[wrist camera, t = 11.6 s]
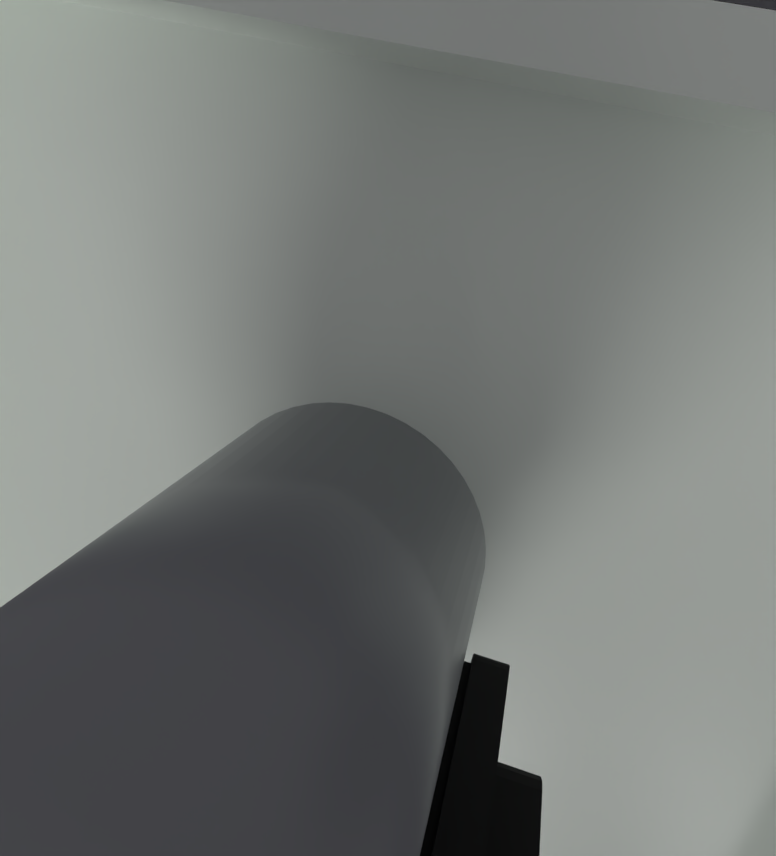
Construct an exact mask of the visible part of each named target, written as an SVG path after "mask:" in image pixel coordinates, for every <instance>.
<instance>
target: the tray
mask: <svg viewBox="0 0 776 856" xmlns="http://www.w3.org/2000/svg"><path fill="white" fill-rule="evenodd" d="M327 402H332V403H346V404H352V405H357V406H362V407H367V408H370V409H373V410H376V411H379V412H382V413H385V414H388V415H390V416H392V417H394V418H396V419H398V420H400V421H402V422H404V423H406V424H408V425H409V426H411V427H412V428H414V429H415V430H417V431H418V432H420V433H422V434H423V435H424V436H425V437H427V438H428V439H429V440H430V441H431V442H433V443H434V444H435V445H436V446H437V447H438V448H439V449H440V450H441V451H442V452H443V453H444V454H445V455H446V456H447V457H448V458H449V459H450V460H451V461H452V463H453V464H454V465H455V467H456V468H457V470H458V471H459V472H460V474H461V475H462V477H463V478H464V480H465V482H466V483H467V485H468V487H469V489H470V491H471V492H472V494H473V497H474V499H475V502H476V504H477V507H478V509H479V512H480V516H481V520H482V524H483V528H484V534H485V545H486V558H485V570H484V574H483V579H482V584H481V589H480V593H479V597H478V602H477V606H476V611H475V615H474V619H473V624H472V628H471V633H470V637H469V641H468V646H467V650H466V655H465V659H464V661H466V662H469V663H471V659H472V656H473V654H474V653H475V654H478V655H481V656H484V657H487V658H490V659H493V660H496V661H499V662H503V663H506V664H509V665H510V669H509V678H508V686H507V694H506V701H505V709H504V717H503V725H502V733H501V741H500V749H499V757H498V762H500V763H503V764H506V765H509V766H512V767H515V768H518V769H521V770H524V771H527V772H529V773H532V774H535V775H538V776H541V779H542V809H541V832H540V854H539V856H776V10H769V9H763V8H757V7H751V6H745V5H738V4H732V3H726V2H720V1H714V0H0V607H2V606H3V605H4V604H6V603H7V602H9V601H10V600H11V599H13V598H14V597H16V596H17V595H18V594H20V593H21V592H23V591H24V590H25V589H27V588H28V587H30V586H31V585H32V584H34V583H35V582H37V581H38V580H39V579H41V578H42V577H44V576H45V575H46V574H48V573H49V572H51V571H52V570H53V569H55V568H56V567H58V566H59V565H60V564H62V563H63V562H65V561H66V560H67V559H69V558H70V557H72V556H73V555H74V554H76V553H77V552H78V551H80V550H81V549H83V548H84V547H85V546H87V545H88V544H90V543H91V542H92V541H94V540H95V539H97V538H98V537H99V536H101V535H102V534H104V533H105V532H106V531H108V530H109V529H111V528H112V527H113V526H115V525H116V524H118V523H119V522H120V521H122V520H123V519H125V518H126V517H127V516H129V515H130V514H132V513H133V512H134V511H136V510H137V509H139V508H140V507H141V506H143V505H144V504H146V503H147V502H148V501H150V500H151V499H153V498H154V497H155V496H157V495H158V494H160V493H161V492H162V491H164V490H165V489H167V488H168V487H169V486H171V485H172V484H174V483H175V482H176V481H178V480H179V479H181V478H182V477H183V476H185V475H186V474H187V473H189V472H190V471H192V470H193V469H194V468H196V467H197V466H199V465H200V464H201V463H203V462H204V461H206V460H207V459H208V458H210V457H211V456H213V455H214V454H215V453H217V452H218V451H220V450H221V449H222V448H224V447H225V446H227V445H228V444H229V443H231V442H232V441H234V440H235V439H236V438H238V437H239V436H241V435H242V434H243V433H245V432H246V431H248V430H249V429H250V428H252V427H253V426H255V425H256V424H257V423H259V422H260V421H262V420H264V419H266V418H268V417H269V416H271V415H273V414H275V413H277V412H280V411H283V410H286V409H289V408H292V407H296V406H301V405H306V404H311V403H327Z"/></svg>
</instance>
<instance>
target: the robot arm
mask: <svg viewBox="0 0 776 856" xmlns="http://www.w3.org/2000/svg"><path fill="white" fill-rule="evenodd" d="M509 669H510V665H509V664H506V663H503V662H499V661H496V660H493V659H490V658H487V657H484V656H481V655H478V654H475V653H474V654H473V656H472V659H471V663H469V662H466V661H464V663H463V668H462V672H461V677H460V681H459V685H458V690H457V694H456V699H455V703H454V707H453V712H452V716H451V721H450V725H449V729H448V734H447V738H446V743H445V747H444V751H443V756H442V760H441V765H440V769H439V773H438V778H437V782H436V787H435V791H434V795H433V800H432V804H431V809H430V813H429V817H428V822H427V826H426V831H425V835H424V839H423V844H422V848H421V853H420V856H539V854H540V832H541V809H542V779H541V776H538V775H535V774H532V773H529V772H527V771H524V770H521V769H518V768H515V767H512V766H509V765H506V764H503V763H500V762H498V757H499V749H500V741H501V733H502V725H503V717H504V709H505V701H506V694H507V686H508V678H509Z"/></svg>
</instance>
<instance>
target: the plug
mask: <svg viewBox="0 0 776 856" xmlns="http://www.w3.org/2000/svg"><path fill="white" fill-rule="evenodd" d="M485 558H486V545H485V534H484V528H483V524H482V520H481V516H480V512H479V509H478V507H477V504H476V502H475V499H474V497H473V494H472V492H471V491H470V489H469V487H468V485H467V483H466V482H465V480H464V478H463V477H462V475H461V474H460V472H459V471H458V470H457V468H456V467H455V465H454V464H453V463H452V461H451V460H450V459H449V458H448V457H447V456H446V455H445V454H444V453H443V452H442V451H441V450H440V449H439V448H438V447H437V446H436V445H435V444H434V443H433V442H431V441H430V440H429V439H428V438H427V437H425V436H424V435H423V434H422V433H420V432H418V431H417V430H415V429H414V428H412V427H411V426H409V425H408V424H406V423H404V422H402V421H400V420H398V419H396V418H394V417H392V416H390V415H388V414H385V413H382V412H379V411H376V410H373V409H370V408H367V407H362V406H357V405H352V404H346V403H332V402H327V403H311V404H306V405H301V406H296V407H292V408H289V409H286V410H283V411H280V412H277V413H275V414H273V415H271V416H269V417H268V418H266V419H264V420H262V421H260V422H259V423H257V424H256V425H255V426H253V427H252V428H250V429H249V430H248V431H246V432H245V433H243V434H242V435H241V436H239V437H238V438H236V439H235V440H234V441H232V442H231V443H229V444H228V445H227V446H225V447H224V448H222V449H221V450H220V451H218V452H217V453H215V454H214V455H213V456H211V457H210V458H208V459H207V460H206V461H204V462H203V463H201V464H200V465H199V466H197V467H196V468H194V469H193V470H192V471H190V472H189V473H187V474H186V475H185V476H183V477H182V478H181V479H179V480H178V481H176V482H175V483H174V484H172V485H171V486H169V487H168V488H167V489H165V490H164V491H162V492H161V493H160V494H158V495H157V496H155V497H154V498H153V499H151V500H150V501H148V502H147V503H146V504H144V505H143V506H141V507H140V508H139V509H137V510H136V511H134V512H133V513H132V514H130V515H129V516H127V517H126V518H125V519H123V520H122V521H120V522H119V523H118V524H116V525H115V526H113V527H112V528H111V529H109V530H108V531H106V532H105V533H104V534H102V535H101V536H99V537H98V538H97V539H95V540H94V541H92V542H91V543H90V544H88V545H87V546H85V547H84V548H83V549H81V550H80V551H78V552H77V553H76V554H74V555H73V556H72V557H70V558H69V559H67V560H66V561H65V562H63V563H62V564H60V565H59V566H58V567H56V568H55V569H53V570H52V571H51V572H49V573H48V574H46V575H45V576H44V577H42V578H41V579H39V580H38V581H37V582H35V583H34V584H32V585H31V586H30V587H28V588H27V589H25V590H24V591H23V592H21V593H20V594H18V595H17V596H16V597H14V598H13V599H11V600H10V601H9V602H7V603H6V604H4V605H3V606H2V607H0V856H420V853H421V848H422V844H423V839H424V835H425V831H426V826H427V822H428V817H429V813H430V809H431V804H432V800H433V795H434V791H435V787H436V782H437V778H438V773H439V769H440V765H441V760H442V756H443V751H444V747H445V743H446V738H447V734H448V729H449V725H450V721H451V716H452V712H453V707H454V703H455V699H456V694H457V690H458V685H459V681H460V677H461V672H462V668H463V663H464V659H465V655H466V650H467V646H468V641H469V637H470V633H471V628H472V624H473V619H474V615H475V611H476V606H477V602H478V597H479V593H480V589H481V584H482V579H483V574H484V570H485Z"/></svg>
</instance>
